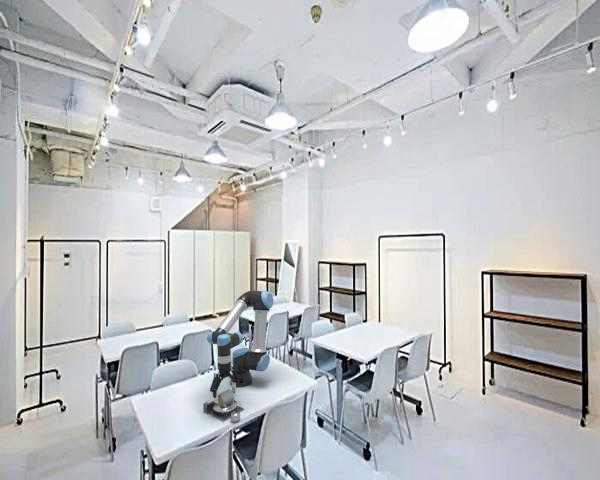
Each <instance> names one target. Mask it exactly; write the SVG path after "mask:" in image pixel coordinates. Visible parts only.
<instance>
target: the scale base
mask: <svg viewBox="0 0 600 480" xmlns="http://www.w3.org/2000/svg"><path fill="white" fill-rule="evenodd" d="M214 403H215V402H214V397H212V398H211V399H209V400H208V401H205V402H204V403H202V404H203V405H202V406H203V407H202V409H203V413H204V414H207V415H209V416H211V417H213V418H216V419H218V420H220V421H222V422H226V421H227V420H229V419H231V413H232V412H234V411H239V412H240V413H241V412H242V411H244V410H245V409H244V407H241V406H240V405H237V407H236V408H235V409H234V410H232V411H229V412H216V411H214V410H213V405H214Z"/></svg>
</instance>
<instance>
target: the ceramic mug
mask: <svg viewBox="0 0 600 480" xmlns="http://www.w3.org/2000/svg"><path fill="white" fill-rule="evenodd" d="M234 400H235V394H234V393H233V392H232V389H230V388H229V389H226V390H224V391H222V392H221V393H218V403H217V404H218V405H219V406H220V407H225V408H226V409H231V408H233V406H234ZM231 403H233V406H231V407H227V406H226V405H228V404H231Z"/></svg>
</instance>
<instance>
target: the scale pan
mask: <svg viewBox="0 0 600 480" xmlns="http://www.w3.org/2000/svg"><path fill="white" fill-rule="evenodd" d="M226 406H227V407H231V406H233V403H231V404H228V405H226ZM237 406H238V401H237V400H235V399H234V406H233V408H231V409H226V408H225V407H220V406H219V405H218V404H217V403H214V405H213V410H214V411H216V412H229V411H232V410H234V409H235V408H236V407H237Z"/></svg>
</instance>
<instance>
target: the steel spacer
mask: <svg viewBox="0 0 600 480" xmlns="http://www.w3.org/2000/svg"><path fill="white" fill-rule="evenodd" d="M240 421H241V412H239V411H234V412H232V413H231V418H230V422H231V423H232V424H236V423H240Z"/></svg>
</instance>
